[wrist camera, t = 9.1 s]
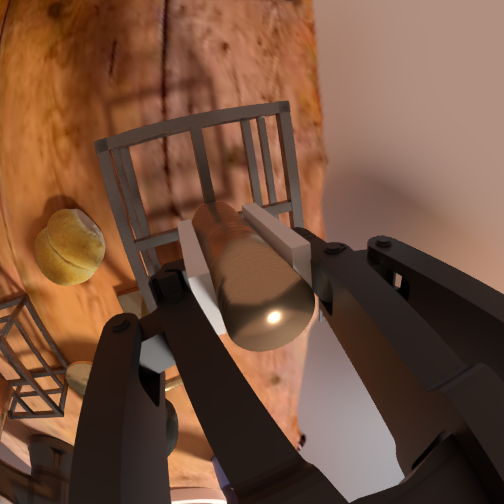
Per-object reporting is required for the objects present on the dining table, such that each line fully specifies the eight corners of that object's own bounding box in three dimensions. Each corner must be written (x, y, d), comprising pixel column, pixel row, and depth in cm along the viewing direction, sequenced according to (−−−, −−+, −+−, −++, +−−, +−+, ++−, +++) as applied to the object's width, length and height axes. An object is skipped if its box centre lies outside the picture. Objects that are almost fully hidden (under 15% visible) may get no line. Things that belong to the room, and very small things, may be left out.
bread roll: (29, 248, 25) (16, 261, 22) (70, 194, 25) (58, 202, 22) (75, 292, 29) (67, 309, 26) (118, 244, 29) (113, 258, 26)
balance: (95, 333, 32) (78, 435, 18) (78, 303, 30) (47, 404, 15) (218, 300, 36) (258, 398, 21) (209, 266, 33) (249, 361, 19)
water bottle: (214, 450, 51) (246, 542, 29) (252, 446, 54) (290, 531, 32) (208, 465, 54) (236, 547, 32) (243, 462, 57) (275, 538, 35)
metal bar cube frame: (23, 376, 30) (0, 469, 14) (-22, 310, 24) (-74, 399, 8) (73, 368, 33) (57, 478, 16) (27, 293, 27) (-31, 402, 10)
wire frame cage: (157, 277, 27) (172, 452, 10) (119, 141, 21) (9, 147, 4) (267, 246, 29) (386, 372, 13) (246, 112, 24) (406, 80, 7)
